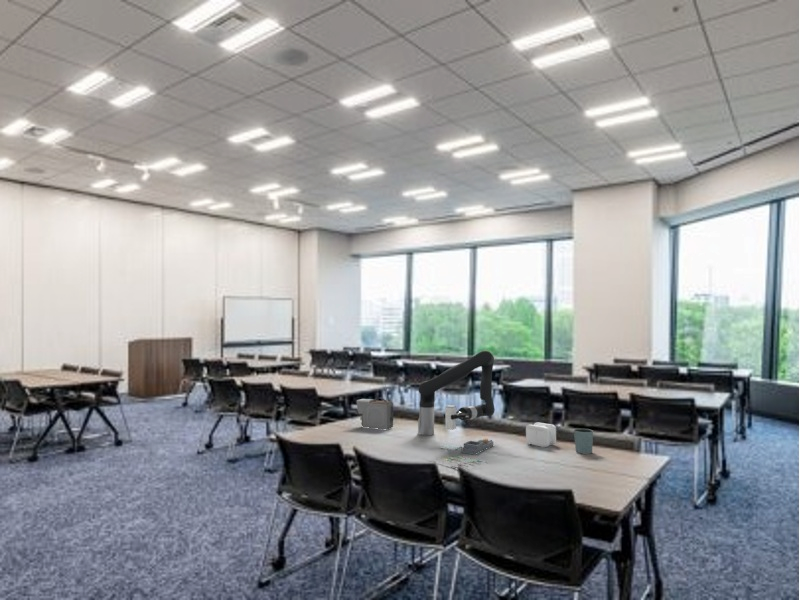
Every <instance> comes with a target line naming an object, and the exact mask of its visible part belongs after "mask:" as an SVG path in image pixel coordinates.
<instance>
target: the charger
mask: <svg viewBox="0 0 800 600" xmlns="http://www.w3.org/2000/svg"><path fill="white" fill-rule="evenodd" d="M456 411H457V405H452V404H448V405H445V411H444V414H445V418H444V419H445V430H451V431H452V430H456V429H457V419H451V415H456Z"/></svg>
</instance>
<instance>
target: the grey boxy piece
mask: <svg viewBox="0 0 800 600" xmlns="http://www.w3.org/2000/svg"><path fill="white" fill-rule="evenodd" d="M384 385H385V389H387V387H386V384H384ZM385 395H386V397H385V398H386V399H385V398H384V397H378V398H376V399H372V398H371V399H370V398H361V399H356V406H357V407H356V408H357V413H358V414H359V415H360V416H359V419H360V421H361V423H360V424H361V427H362V426H363V427H369V428H378V429H389V428H391V427H393V428H394V402H393V401H390V400H388V393H387V392H385ZM379 399H381V400H379ZM378 429H377V430H378ZM391 429H392V428H391ZM389 430H390V429H389Z"/></svg>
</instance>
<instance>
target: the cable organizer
mask: <svg viewBox="0 0 800 600" xmlns="http://www.w3.org/2000/svg"><path fill="white" fill-rule="evenodd" d="M525 442H526V443H527V444H529V445H530V444H532V445H531V446H539V447H540V448H547V447H550V446H553V445H556V443H557V427H556V425H554V424H550V423H544V422H537V421H536V422H534V424H527V425H526V426H525Z"/></svg>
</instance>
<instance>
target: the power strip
mask: <svg viewBox="0 0 800 600" xmlns="http://www.w3.org/2000/svg"><path fill="white" fill-rule="evenodd" d="M493 445H494V441H493V440H492V439H490V440H489V439H488V438H484V439H479V440H477V441H476V440H469V441H466V442H464V443H463V447H461V453H462V452H463V454H468V453H473V454H472V455H475V454H476V453H478V452H480V451H482V450H484V449H486V448H488V449H490V448H492V447H494V446H493ZM491 446H492V447H491ZM489 447H490V448H489ZM486 450H487V449H486ZM484 451H485V450H484ZM482 452H483V451H482ZM480 453H481V452H480ZM478 454H479V453H478ZM476 455H477V454H476Z"/></svg>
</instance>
